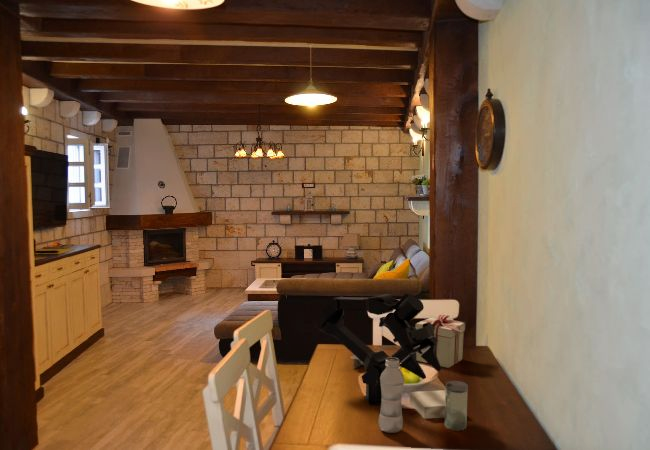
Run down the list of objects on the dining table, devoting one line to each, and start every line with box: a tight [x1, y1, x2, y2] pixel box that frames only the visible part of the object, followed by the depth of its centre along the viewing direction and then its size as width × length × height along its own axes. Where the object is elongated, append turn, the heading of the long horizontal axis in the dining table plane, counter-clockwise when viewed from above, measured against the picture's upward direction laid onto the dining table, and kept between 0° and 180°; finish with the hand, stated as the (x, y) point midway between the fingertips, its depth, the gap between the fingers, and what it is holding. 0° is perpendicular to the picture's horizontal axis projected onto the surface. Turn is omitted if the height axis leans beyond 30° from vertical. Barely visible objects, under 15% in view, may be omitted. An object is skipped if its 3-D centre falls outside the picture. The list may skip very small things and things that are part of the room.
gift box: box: [414, 314, 467, 369], centre depth 212 cm, size 17×18×17 cm
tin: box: [444, 380, 469, 432], centre depth 151 cm, size 6×6×12 cm
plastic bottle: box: [377, 356, 405, 434], centre depth 147 cm, size 6×7×20 cm
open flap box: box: [350, 354, 364, 370], centre depth 203 cm, size 12×18×7 cm, turn 148°
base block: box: [409, 389, 446, 420], centre depth 163 cm, size 12×12×4 cm
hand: (432, 374), depth 156 cm, fingers open, 9 cm apart
